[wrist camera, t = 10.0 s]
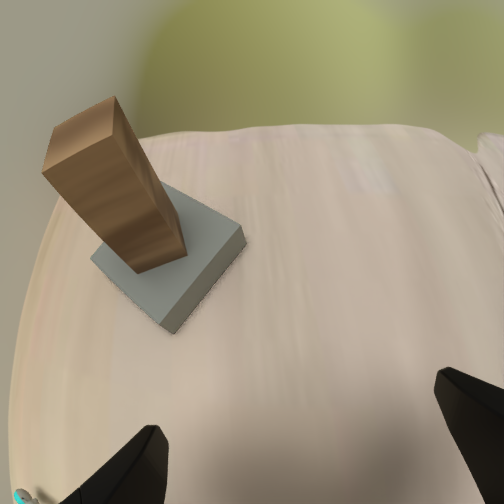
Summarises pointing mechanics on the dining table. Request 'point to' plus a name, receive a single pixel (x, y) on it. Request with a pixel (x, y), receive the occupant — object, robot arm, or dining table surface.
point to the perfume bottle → (24, 497)
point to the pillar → (114, 186)
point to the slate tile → (179, 263)
